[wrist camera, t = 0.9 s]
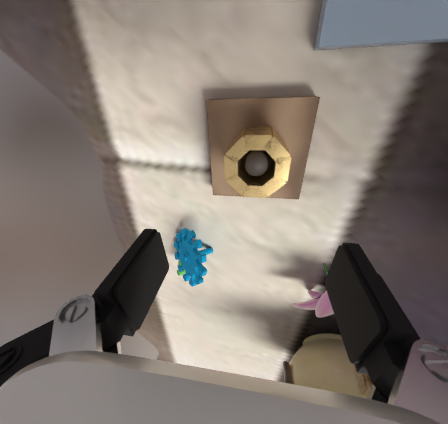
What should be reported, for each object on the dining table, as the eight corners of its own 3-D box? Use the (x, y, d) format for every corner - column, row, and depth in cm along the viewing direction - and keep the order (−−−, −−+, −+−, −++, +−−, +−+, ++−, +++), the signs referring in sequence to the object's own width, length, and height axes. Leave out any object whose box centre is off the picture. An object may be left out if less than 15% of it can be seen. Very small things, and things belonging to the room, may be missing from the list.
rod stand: (315, 96, 21) (331, 99, 16) (296, 192, 28) (304, 215, 23) (210, 99, 23) (196, 102, 18) (215, 188, 30) (206, 209, 25)
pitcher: (383, 365, 50) (468, 563, 29) (290, 364, 58) (305, 516, 38) (374, 316, 40) (491, 557, 20) (265, 324, 49) (266, 497, 28)
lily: (278, 274, 39) (289, 328, 35) (311, 256, 30) (333, 329, 25) (328, 272, 42) (346, 323, 37) (375, 255, 32) (406, 321, 27)
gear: (182, 217, 32) (207, 273, 28) (211, 213, 36) (237, 262, 32) (165, 249, 39) (183, 297, 35) (190, 243, 43) (209, 286, 39)
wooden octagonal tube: (288, 125, 22) (294, 135, 18) (281, 180, 25) (284, 198, 21) (230, 126, 23) (223, 135, 19) (231, 178, 26) (225, 195, 22)
